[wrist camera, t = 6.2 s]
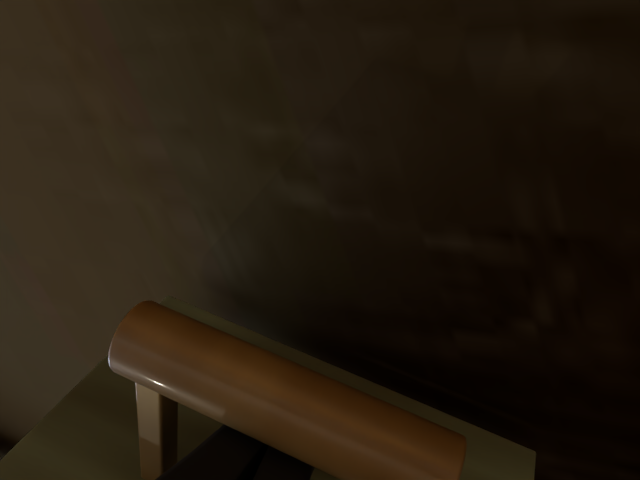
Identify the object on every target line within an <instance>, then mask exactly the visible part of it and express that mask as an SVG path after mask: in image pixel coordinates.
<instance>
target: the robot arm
mask: <svg viewBox="0 0 640 480" xmlns="http://www.w3.org/2000/svg"><path fill="white" fill-rule="evenodd" d="M313 470H314V467H313V466H311V465H309V464H307V463H305V462H302V461H300V460H298V459H296V458H294V457H292V456H290V455H288V454H286V453H283V452H281V451H279V450H277V449H275V448H273V447H271V446H269V445H267V444H264V443H262V442H260V441H258V440H256V439H254V438H252V437H250V436H248V435H245V434H243V433H241V432H239V431H237V430H235V429H233V428H231V427H229V426H226V425H224V424H223V425H222V426H221V427H220V428H219V429H218V430H217V431H215V432H214V433H213V434H212V435H211V436H209V437H208V438H207V439H206V440H205V441H204V442H202V443H201V444H200V445H199V446H198V447H196V448H195V449H194V450H193V451H192V452H190V453H189V454H188V455H187V456H185V457H184V458H183V459H182V460H180V461H179V462H178V463H176V464H175V465H174V466H172V467H171V468H170V469H168V470H167V471H166V472H165V473H163V474H162V475H161V476H159V477H158V478H157V479H155V480H310V478H311V475H312V473H313Z"/></svg>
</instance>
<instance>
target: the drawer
mask: <svg viewBox="0 0 640 480" xmlns="http://www.w3.org/2000/svg"><path fill="white" fill-rule="evenodd" d="M223 424H224V425H226V426H229V427H231V428H233V429H235V430H237V431H239V432H241V433H243V434H245V435H248V436H250V437H252V438H254V439H256V440H258V441H260V442H262V443H264V444H267V445H269V446H271V447H273V448H275V449H277V450H279V451H281V452H283V453H286V454H288V455H290V456H292V457H294V458H296V459H298V460H300V461H302V462H305V463H307V464H309V465H311V466H313V467H314V470H313V473H312V475H311V478H310V480H534V475H535V461H536V452H535V451H533V450H531V449H529V448H526V447H524V446H521V445H519V444H517V443H514V442H512V441H510V440H507V439H505V438H503V437H500V436H498V435H496V434H493V433H491V432H489V431H486V430H484V429H482V428H479V427H477V426H474V425H472V424H470V423H467V422H465V421H463V420H460V419H458V418H456V417H453V416H451V415H449V414H446V413H444V412H442V411H439V410H437V409H435V408H432V407H430V406H428V405H425V404H423V403H420V402H418V401H416V400H413V399H411V398H409V397H406V396H404V395H402V394H399V393H397V392H395V391H392V390H390V389H388V388H385V387H383V386H381V385H378V384H376V383H373V382H371V381H369V380H366V379H364V378H362V377H359V376H357V375H355V374H352V373H350V372H348V371H345V370H343V369H341V368H338V367H336V366H334V365H331V364H329V363H326V362H324V361H322V360H319V359H317V358H315V357H312V356H310V355H308V354H305V353H303V352H301V351H298V350H296V349H294V348H291V347H289V346H287V345H284V344H282V343H280V342H277V341H275V340H272V339H270V338H268V337H265V336H263V335H261V334H258V333H256V332H254V331H251V330H249V329H247V328H244V327H242V326H240V325H237V324H235V323H233V322H230V321H228V320H225V319H223V318H221V317H218V316H216V315H214V314H211V313H209V312H207V311H204V310H202V309H200V308H197V307H195V306H193V305H190V304H188V303H186V302H183V301H181V300H178V299H176V298H174V297H171V296H167V297H166V298H165V299H164V300H163V301H162V302H161V303H160V304H158V303H156V302H154V301H143V302H141V303H139V304H137V305H136V306H135V307H133V308H132V309H131V310H130V311H129V312H128V313H127V315H126V316H125V317H124V318H123V320H122V321H121V323H120V324H119V326H118V328H117V330H116V332H115V334H114V336H113V338H112V341H111V344H110V348H109V352H108V355H107V356H106V357H105V358H104V359H103V360H102V361H101V362H100V363H99V364H98V365H97V366H96V367H95V368H94V369H93V370H92V371H91V372H90V373H89V374H87V375H86V376H85V377H84V378H83V379H82V380H81V381H80V382H79V383H78V384H77V385H76V386H75V387H74V388H73V389H72V390H71V391H70V392H69V393H68V394H67V395H66V396H65V397H64V398H63V399H62V400H61V401H60V402H59V403H58V404H57V405H56V406H55V407H54V408H53V409H52V410H51V411H50V412H49V413H48V414H47V415H46V416H45V417H44V418H43V419H42V420H41V421H40V422H39V423H38V424H37V425H36V426H35V427H34V428H33V429H32V430H31V431H30V432H28V433H27V434H26V435H25V436H24V437H23V438H22V439H21V440H20V441H19V442H18V443H17V444H16V445H15V446H14V447H13V448H12V449H11V450H10V451H9V452H8V453H7V454H6V455H5V456H4V457H3V458H2V459H1V460H0V480H155V479H157V478H158V477H159V476H161V475H162V474H163V473H165V472H166V471H167V470H168V469H170V468H171V467H172V466H174V465H175V464H176V463H178V462H179V461H180V460H182V459H183V458H184V457H185V456H187V455H188V454H189V453H190V452H192V451H193V450H194V449H195V448H196V447H198V446H199V445H200V444H201V443H202V442H204V441H205V440H206V439H207V438H208V437H209V436H211V435H212V434H213V433H214V432H215V431H217V430H218V429H219V428H220V427H221V426H222V425H223Z"/></svg>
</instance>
